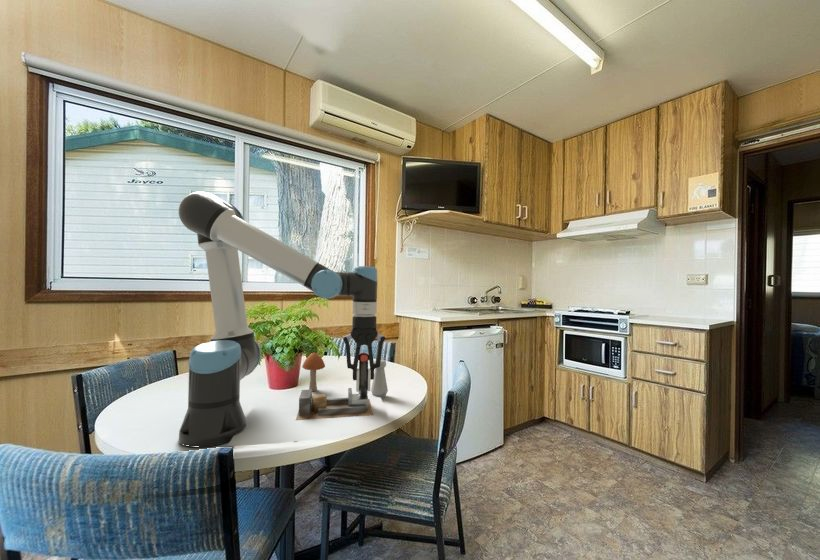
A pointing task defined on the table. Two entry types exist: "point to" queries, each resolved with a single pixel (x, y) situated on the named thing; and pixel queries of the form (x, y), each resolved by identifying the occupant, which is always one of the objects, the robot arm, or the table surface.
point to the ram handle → (360, 384)
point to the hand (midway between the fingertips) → (363, 389)
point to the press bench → (329, 408)
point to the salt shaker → (379, 381)
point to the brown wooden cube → (319, 402)
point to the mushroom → (313, 368)
